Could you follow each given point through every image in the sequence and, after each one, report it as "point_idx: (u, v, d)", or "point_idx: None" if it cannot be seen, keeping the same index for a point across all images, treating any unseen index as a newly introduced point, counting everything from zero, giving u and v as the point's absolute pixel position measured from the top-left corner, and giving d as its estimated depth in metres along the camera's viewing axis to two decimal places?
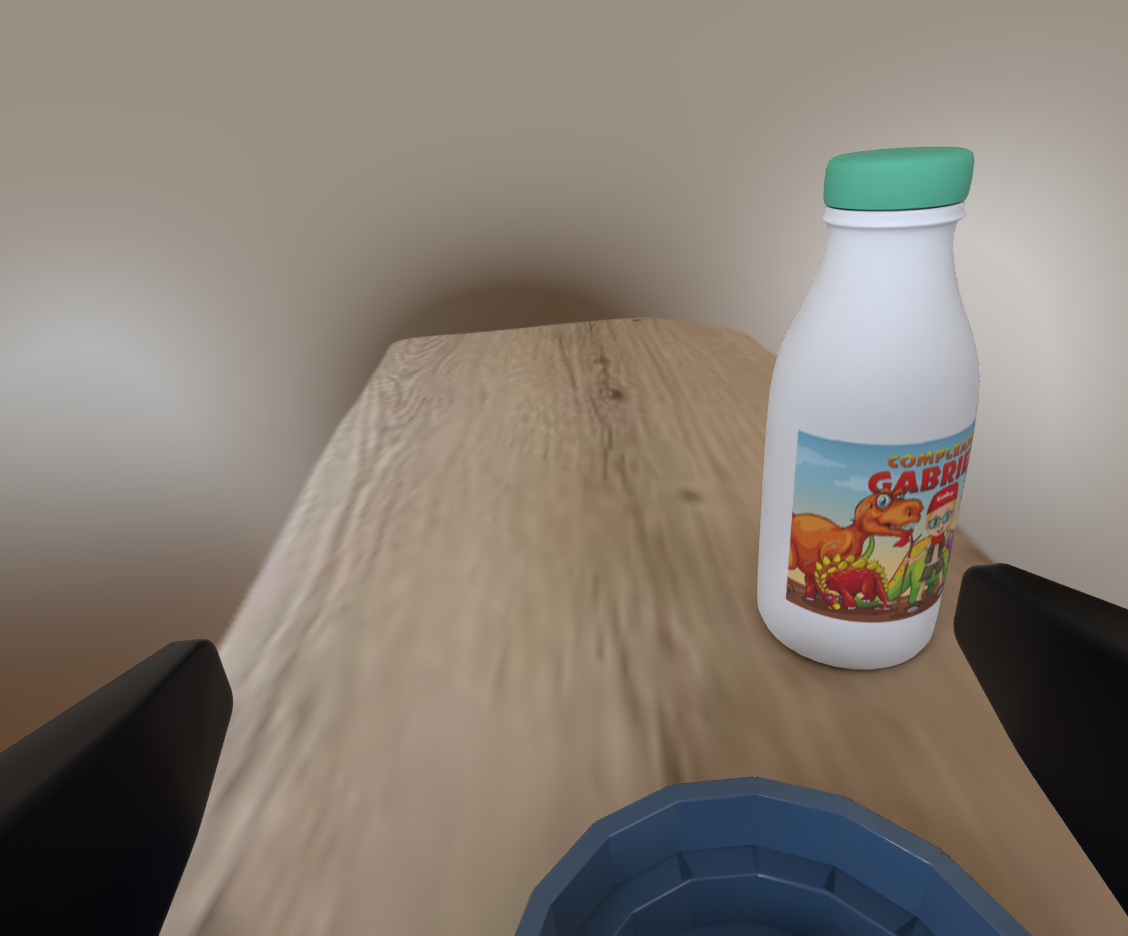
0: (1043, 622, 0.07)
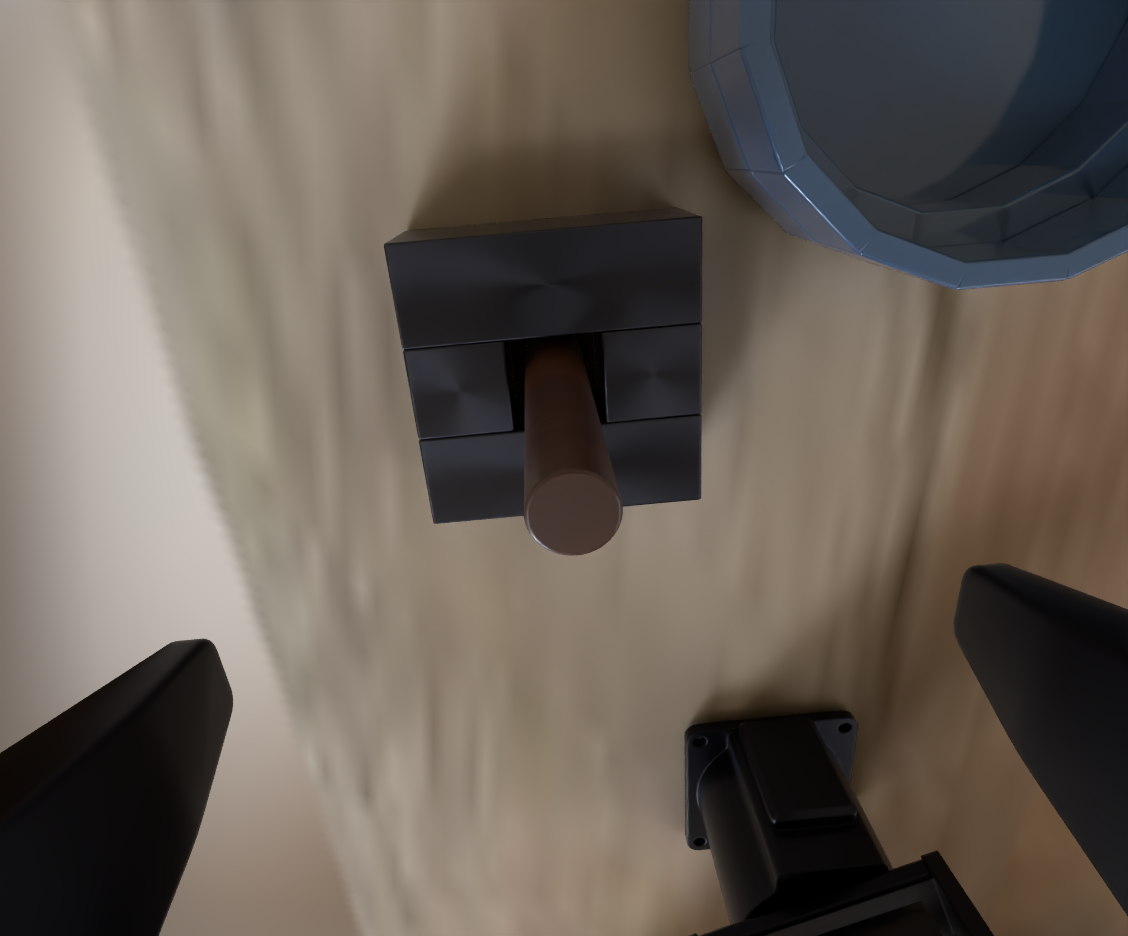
0: (1043, 622, 0.07)
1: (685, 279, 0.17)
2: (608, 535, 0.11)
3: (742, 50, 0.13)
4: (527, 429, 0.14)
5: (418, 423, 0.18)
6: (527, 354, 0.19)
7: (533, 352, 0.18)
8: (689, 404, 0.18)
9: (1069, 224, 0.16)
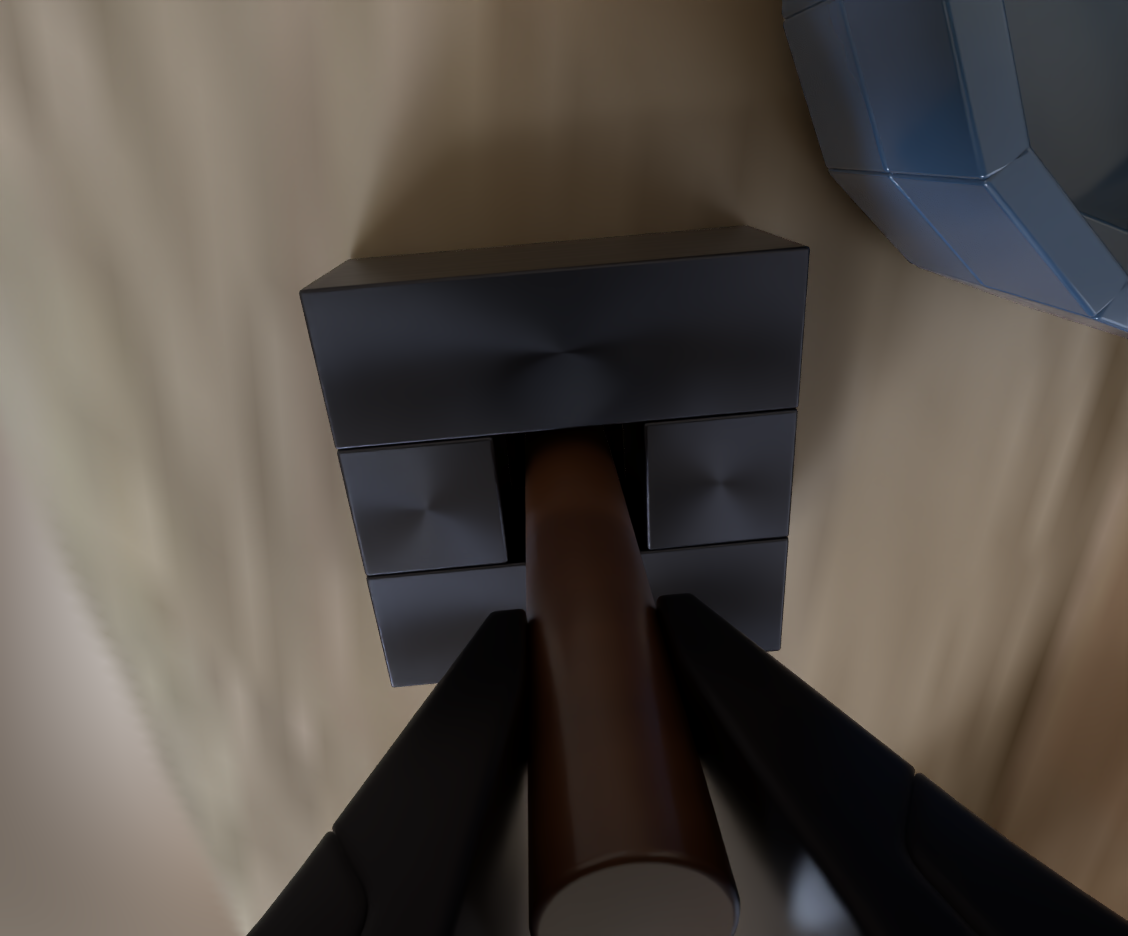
0: (679, 657, 0.07)
1: (777, 343, 0.11)
2: None
3: None
4: (532, 639, 0.08)
5: (364, 554, 0.12)
6: (528, 442, 0.13)
7: (538, 444, 0.12)
8: (772, 524, 0.12)
9: None
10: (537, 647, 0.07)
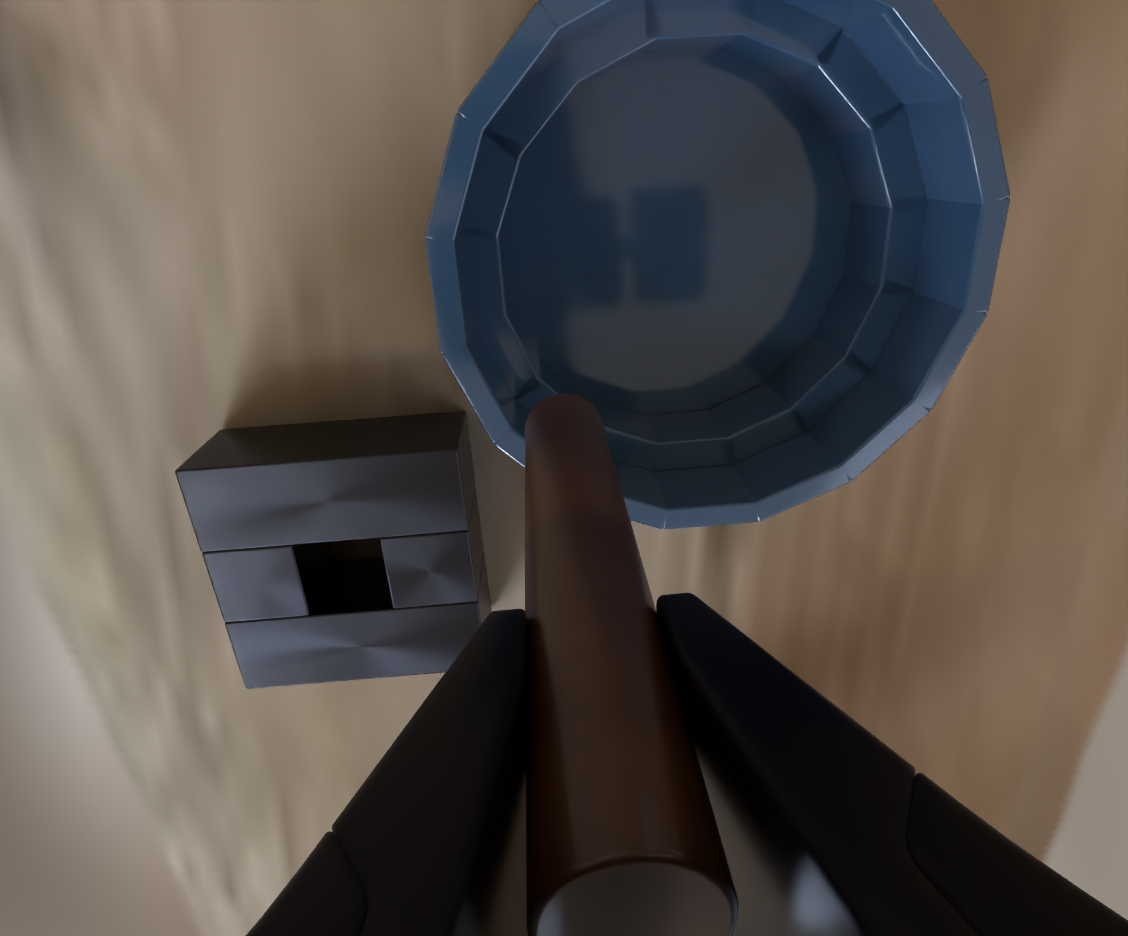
0: (680, 657, 0.07)
1: (448, 497, 0.19)
2: None
3: (443, 355, 0.15)
4: (530, 639, 0.08)
5: (222, 609, 0.20)
6: (528, 442, 0.13)
7: (537, 444, 0.12)
8: (465, 594, 0.20)
9: (775, 462, 0.18)
10: (536, 647, 0.07)
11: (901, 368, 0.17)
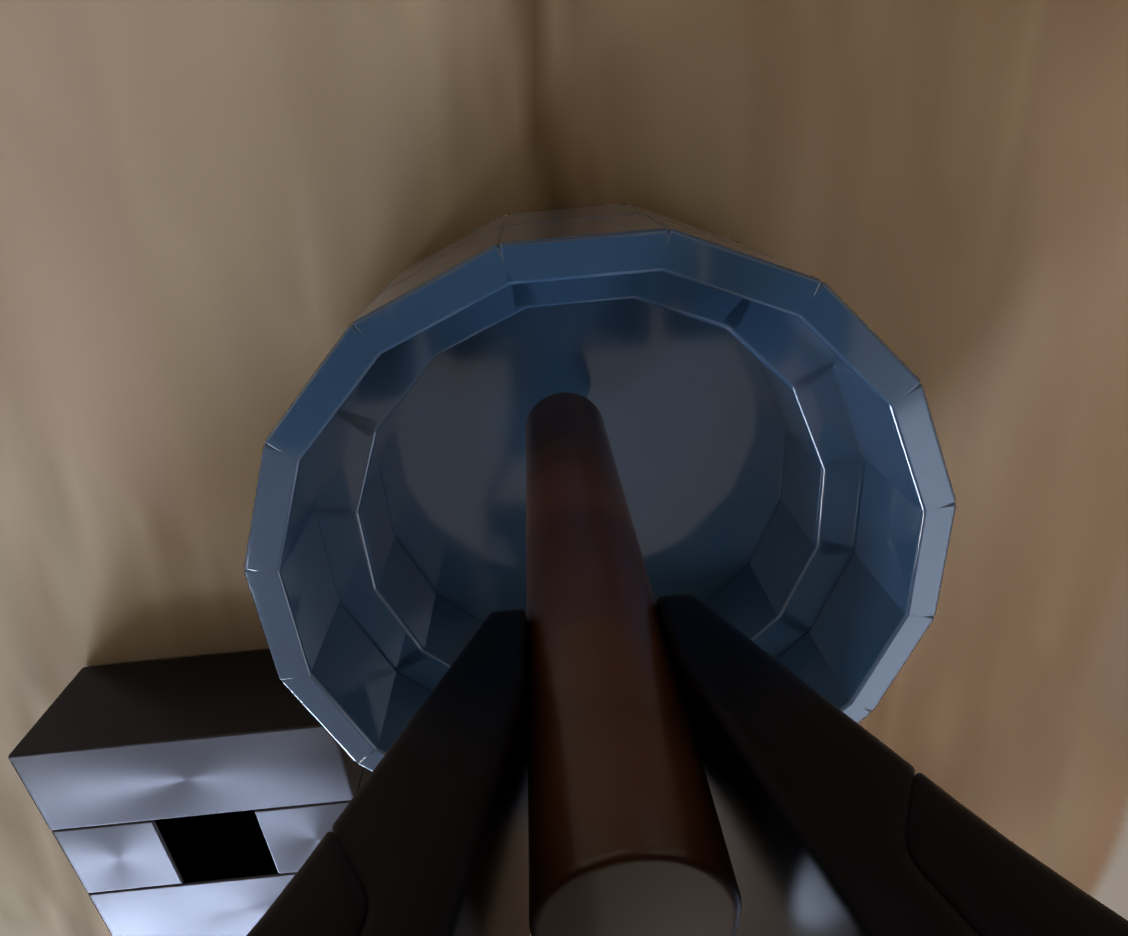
0: (679, 657, 0.07)
1: (328, 770, 0.16)
2: None
3: (283, 681, 0.13)
4: (532, 637, 0.08)
5: (83, 882, 0.18)
6: (529, 440, 0.13)
7: (538, 443, 0.12)
8: None
9: None
10: (537, 645, 0.07)
11: (839, 650, 0.14)
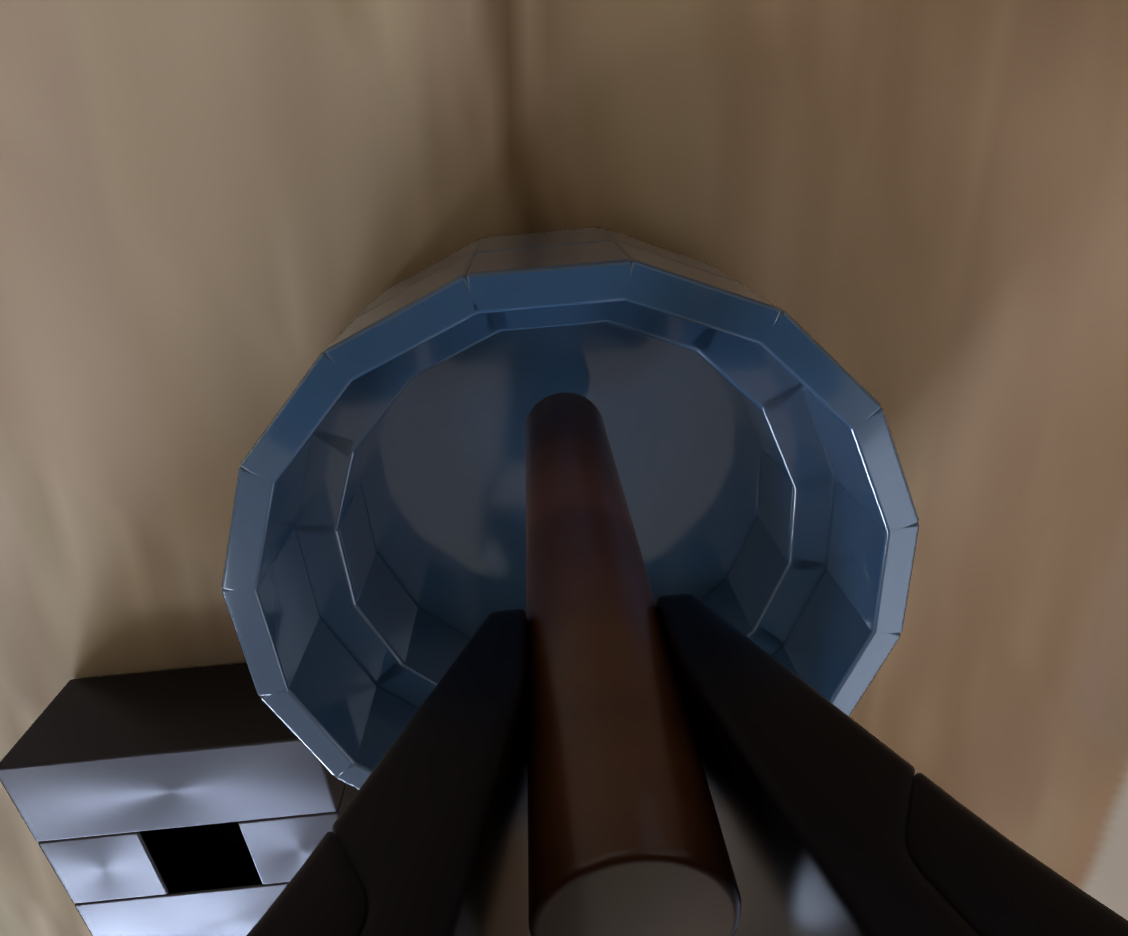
0: (679, 657, 0.07)
1: (310, 782, 0.17)
2: None
3: (261, 698, 0.13)
4: (532, 637, 0.08)
5: (69, 893, 0.18)
6: (529, 440, 0.13)
7: (538, 443, 0.12)
8: None
9: None
10: (537, 645, 0.07)
11: (811, 665, 0.15)
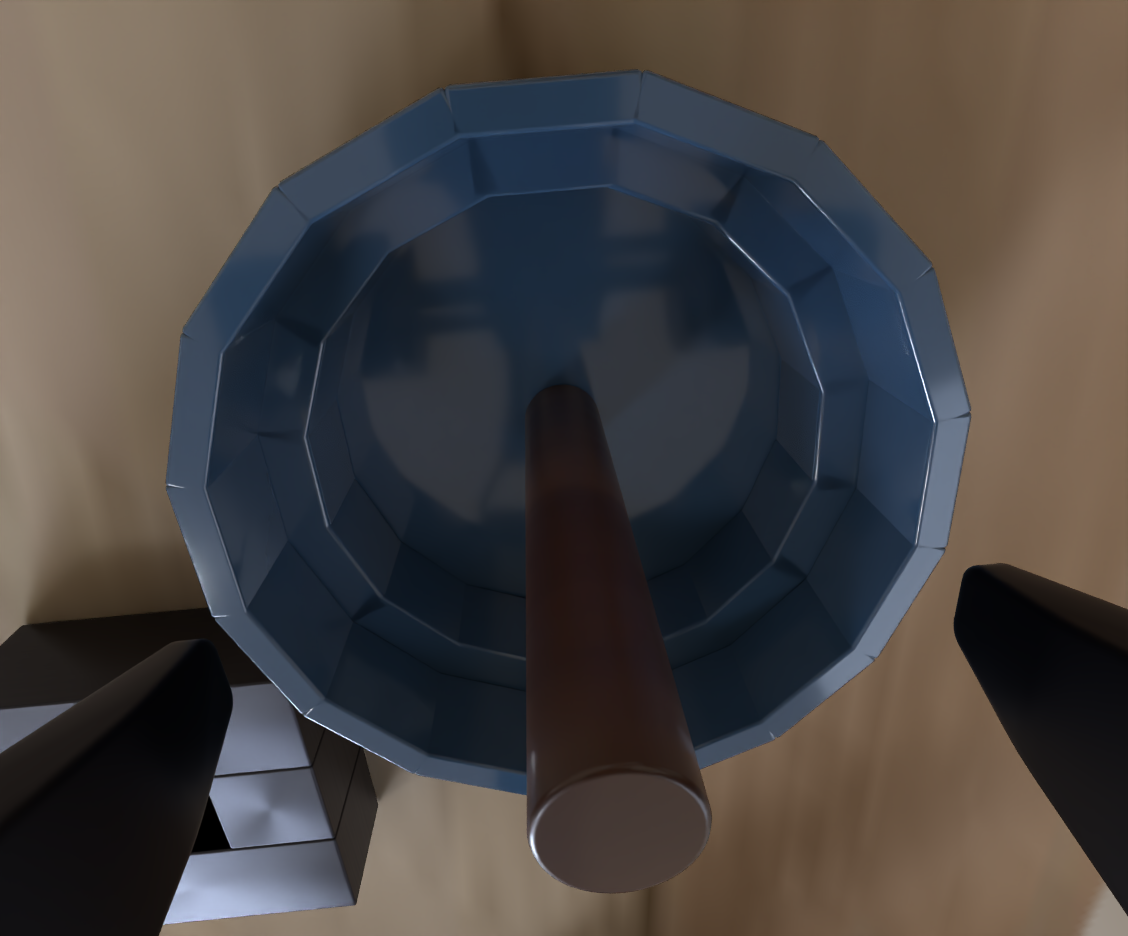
0: (1043, 622, 0.07)
1: (281, 732, 0.15)
2: (683, 863, 0.06)
3: (216, 619, 0.11)
4: (530, 600, 0.08)
5: None
6: (528, 429, 0.13)
7: (537, 430, 0.13)
8: (318, 832, 0.16)
9: (687, 693, 0.14)
10: (535, 607, 0.08)
11: (840, 593, 0.13)
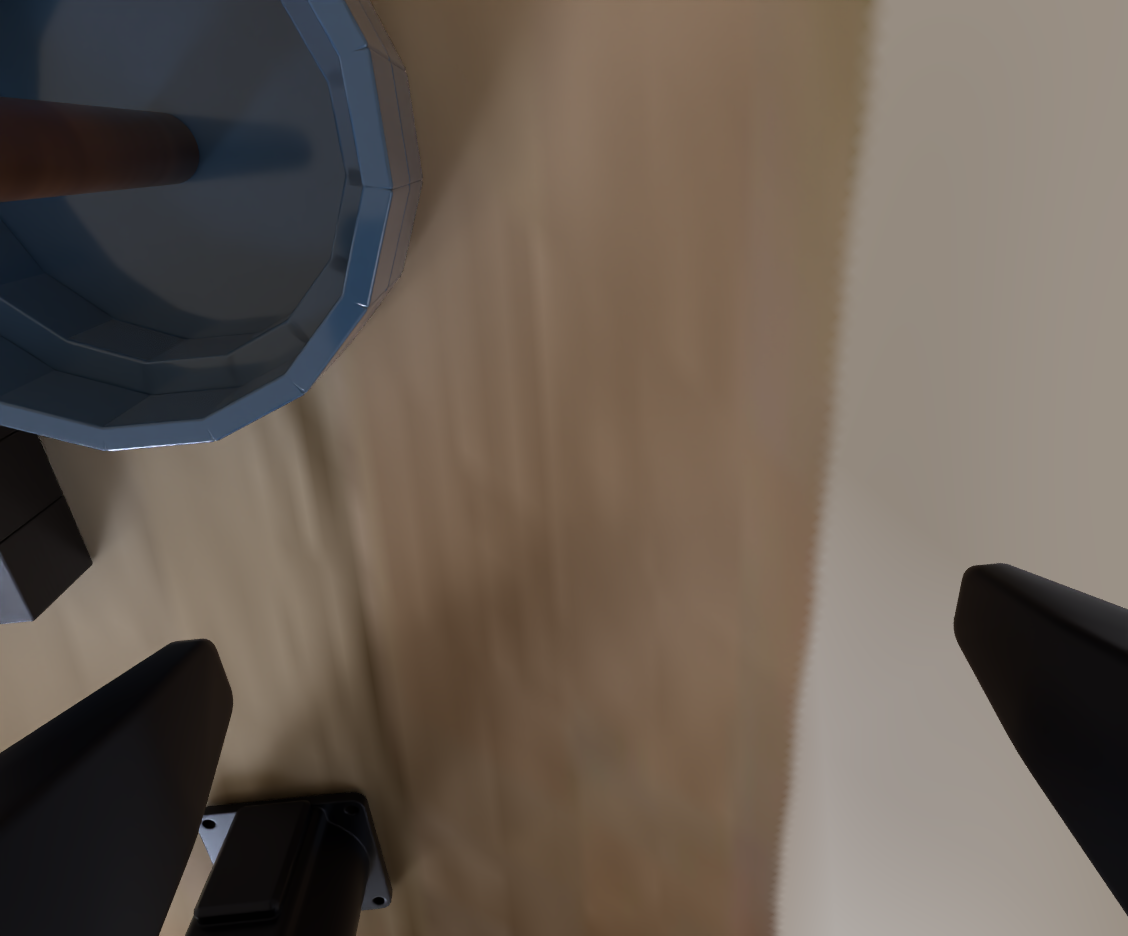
0: (1043, 622, 0.07)
1: None
2: None
3: None
4: None
5: None
6: None
7: None
8: None
9: (260, 379, 0.16)
10: None
11: None
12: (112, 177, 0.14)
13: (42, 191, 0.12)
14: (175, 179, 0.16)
